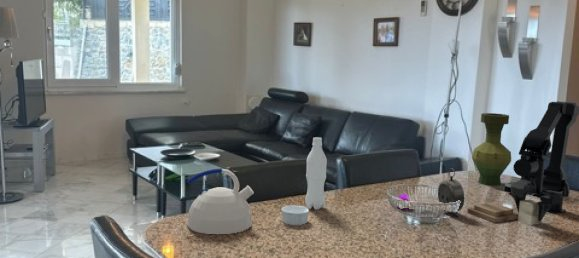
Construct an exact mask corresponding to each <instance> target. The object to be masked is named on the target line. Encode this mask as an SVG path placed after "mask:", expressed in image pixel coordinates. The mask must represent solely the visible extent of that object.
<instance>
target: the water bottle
mask: <svg viewBox="0 0 579 258" xmlns="http://www.w3.org/2000/svg"><path fill="white" fill-rule="evenodd" d="M322 141H323V139H322V137H319V136H316V137H313V138H312V143H311V145H312V147H311V151H309V153H308V155H307V157H306V170H305V171H306V174H305V177H306V178H305V179H306V183H307V192H306V195H305V197H304V202H305V207H306V208H308V209H309V210H311V209H312V208H314V211H315V210H316V211H318V210H320V209H323V208H324V206H325V204H326V196H325V189H324V187H325V181H326V179H327V164H328V160H327V157H326V154H325V152H324V149H323V142H322Z"/></svg>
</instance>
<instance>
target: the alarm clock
mask: <svg viewBox="0 0 579 258" xmlns="http://www.w3.org/2000/svg"><path fill="white" fill-rule="evenodd" d="M451 170H452V171H453V176H452V175H450V174H451V173H450V172H451ZM455 174H456V171H455V168H452V167H451V168H449V170H448V176H449V179H447V180H446V179H445V180H442V181H441V182H440V183H439V185H438V188H437V199H438V202H443V203H449V202H456V201H458V200H460V201H461V203H460V206H459V209H458V211H457V212H456V213H455V215H456V217H457V218H459V213H458V212H459V211H461V210H462V209H463V206H464V205H465V191H464V188H463V186H462V184H461V183H460V182H459V181H458V180H457V179H453V178H454V177H455V176H456V175H455Z"/></svg>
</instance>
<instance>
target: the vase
mask: <svg viewBox="0 0 579 258" xmlns="http://www.w3.org/2000/svg"><path fill="white" fill-rule="evenodd" d="M480 115H481V116H480V123H483V124H484V126H485V141H484V142H482V143H481V144H479V145H477V146H476V147H474V149H473V150H472V155H471V159H472V161H473V163H474V165H475V167H476V170H477V171H478V173H479V178H478V181H477V183H478V184H481V185H485V186H492V187H493V186H494V187H495V186H496V187H498V186H501V184H502V183H501V176H502V175H503V173H504V172H505V171H506V169H507V168H508V167H509V165H510V164H511V163H512V151H510V150H509V149H508V148H507V147H506V146H505V145H504V144H503V143H501V140H502V132H503V128H504V126H505V125H509V121H510V115H509V114H505V113H504V114H503V113H495V112H493V113H492V112H491V113H489V112H483V113H481V114H480Z"/></svg>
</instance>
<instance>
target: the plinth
mask: <svg viewBox="0 0 579 258" xmlns="http://www.w3.org/2000/svg"><path fill="white" fill-rule="evenodd" d="M467 214H470V215H472V216H475V217H477V218H480V219H484V220H486V221H488V222H491V223H494V224H497V223H502V222H508V221H513V220H518V215H519V214H518V212H514V209H513V208H511V207H507V206H504V205H501V204H498V203H495V202H489V203H488V202H487V203H481V204H475V205H474V207H472V208H471V207H470V208H467Z"/></svg>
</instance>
